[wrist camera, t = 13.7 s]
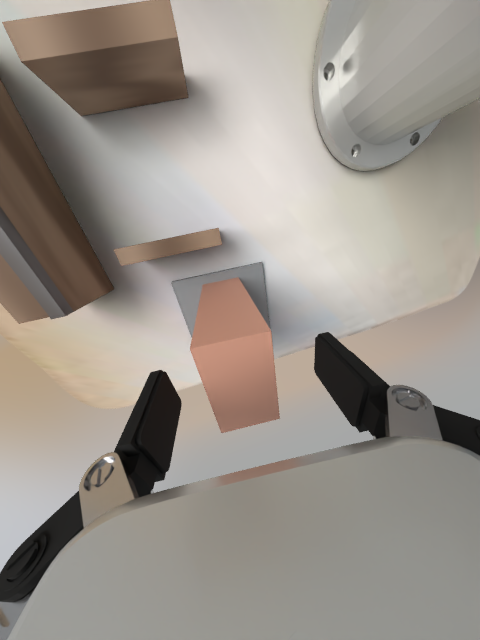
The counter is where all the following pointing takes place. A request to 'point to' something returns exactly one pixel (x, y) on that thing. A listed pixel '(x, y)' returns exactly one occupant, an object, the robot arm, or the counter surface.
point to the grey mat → (192, 287)
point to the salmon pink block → (234, 356)
